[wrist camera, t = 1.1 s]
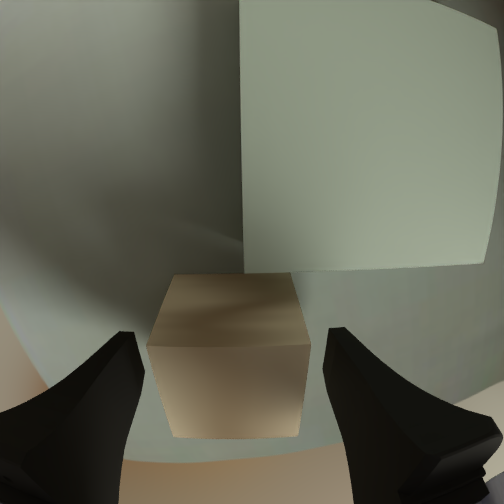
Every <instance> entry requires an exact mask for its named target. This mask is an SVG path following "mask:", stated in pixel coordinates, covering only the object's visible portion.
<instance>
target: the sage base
mask: <svg viewBox="0 0 504 504" xmlns="http://www.w3.org/2000/svg"><path fill="white" fill-rule="evenodd" d="M239 18H240V97H241V154H242V202H243V244H244V274H247V273H283V272H314V271H341V270H365V269H387V268H408V267H427V266H445V265H462V264H478V263H483V262H484V258H485V254H486V250H487V245H488V241H489V236H490V231H491V226H492V221H493V215H494V209H495V203H496V196H497V189H498V181H499V172H500V162H501V149H502V128H503V93H502V73H501V60H500V50H499V42H498V34H497V29H496V28H494V27H492V26H490V25H488V24H486V23H484V22H482V21H480V20H477V19H475V18H473V17H471V16H469V15H466V14H464V13H462V12H459V11H457V10H454V9H452V8H449V7H447V6H444V5H441V4H439V3H436V2H433V1H430V0H239Z"/></svg>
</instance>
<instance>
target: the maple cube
mask: <svg viewBox="0 0 504 504" xmlns="http://www.w3.org/2000/svg"><path fill="white" fill-rule="evenodd" d="M146 347H147V351H148V355H149V359H150V363H151V366H152V370H153V373H154V377H155V380H156V384H157V387H158V391H159V394H160V397H161V400H162V403H163V407H164V410H165V413H166V416H167V419H168V422H169V425H170V428H171V431H172V434H173V436H174V437H181V438H201V439H258V438H278V437H292V436H298V432H299V426H300V420H301V414H302V407H303V401H304V394H305V387H306V380H307V373H308V365H309V357H310V349H311V342H310V338H309V335H308V331H307V328H306V324H305V321H304V318H303V314H302V311H301V307H300V304H299V301H298V297H297V294H296V291H295V287H294V284H293V281H292V277H291V274H290V272H283V273H247V274H244V273H229V274H174V276H173V279H172V281H171V284H170V286H169V288H168V291H167V293H166V296H165V298H164V301H163V303H162V306H161V308H160V311H159V313H158V316H157V319H156V321H155V324H154V326H153V329H152V332H151V334H150V337H149V339H148V342H147V345H146Z"/></svg>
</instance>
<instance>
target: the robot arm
mask: <svg viewBox="0 0 504 504" xmlns="http://www.w3.org/2000/svg"><path fill="white" fill-rule="evenodd" d="M144 374H145V370H144V366H143V363H142V360H141V356H140V353H139V349H138V345H137V342H136V338H135V334H134V332H124V331H119V332H118V333H117V334H115V335H114V336H113V337H112V338H111V339H110V340H109V341H108V342H106V343H105V344H104V345H103V346H102V347H101V348H100V349H99V350H98V351H97V352H95V353H94V354H93V355H92V356H91V357H90V358H89V359H88V360H86V361H85V362H84V363H83V364H82V365H80V366H79V367H78V368H77V369H75V370H74V371H73V372H72V373H71V374H69V375H68V376H67V377H65V378H64V379H63V380H61V381H60V382H59V383H57V384H56V385H54V386H53V387H51V388H50V389H48V390H46V391H45V392H43V393H41V394H39V395H38V396H36V397H34V398H32V399H30V400H28V401H27V402H25V403H23V404H20V405H18V406H16V407H14V408H11V409H9V410H6V411H4V412H1V413H0V504H118V501H119V486H120V476H121V468H122V461H123V455H124V449H125V445H126V441H127V437H128V434H129V431H130V427H131V424H132V421H133V418H134V415H135V412H136V408H137V405H138V402H139V399H140V396H141V391H142V386H143V380H144ZM323 374H324V379H325V384H326V389H327V393H328V396H329V399H330V402H331V405H332V408H333V411H334V414H335V417H336V420H337V423H338V426H339V429H340V432H341V435H342V438H343V442H344V446H345V450H346V456H347V461H348V466H349V472H350V479H351V485H352V493H353V501H354V504H504V472H502V473H500V474H498V475H497V476H495V477H493V478H492V479H490V480H489V481H487V482H486V483H485V482H484V480H483V478H482V477H484V476H485V474H486V472H485V470H484V468H483V465H484V464H485V463H486V462H487V461H488V459H489V458H490V457H491V456H492V455H493V454H494V453H495V452H496V450H497V449H498V448H499V446H500V444H501V442H502V440H503V435H502V433H501V431H500V430H499V428H498V427H497V425H496V423H495V422H494V420H493V419H492V418H491V417H489V416H486V415H482V414H479V413H475V412H472V411H468V410H465V409H463V408H460V407H457V406H454V405H452V404H450V403H448V402H445V401H443V400H441V399H439V398H437V397H435V396H433V395H431V394H429V393H427V392H425V391H424V390H422V389H420V388H418V387H417V386H415V385H414V384H412V383H411V382H409V381H407V380H406V379H404V378H403V377H402V376H400V375H399V374H397V373H396V372H395V371H394V370H392V369H391V368H390V367H388V366H387V365H386V364H385V363H383V362H382V361H381V360H380V359H379V358H377V357H376V356H375V355H374V354H373V353H372V352H371V351H370V350H368V349H367V348H366V347H365V346H364V345H363V344H362V343H361V342H360V341H359V340H358V339H357V338H356V337H355V336H354V335H353V334H351V333H350V332H349V331H348V330H347V329H346V328H345V327H339V328H329V331H328V337H327V344H326V350H325V357H324V363H323Z"/></svg>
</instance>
